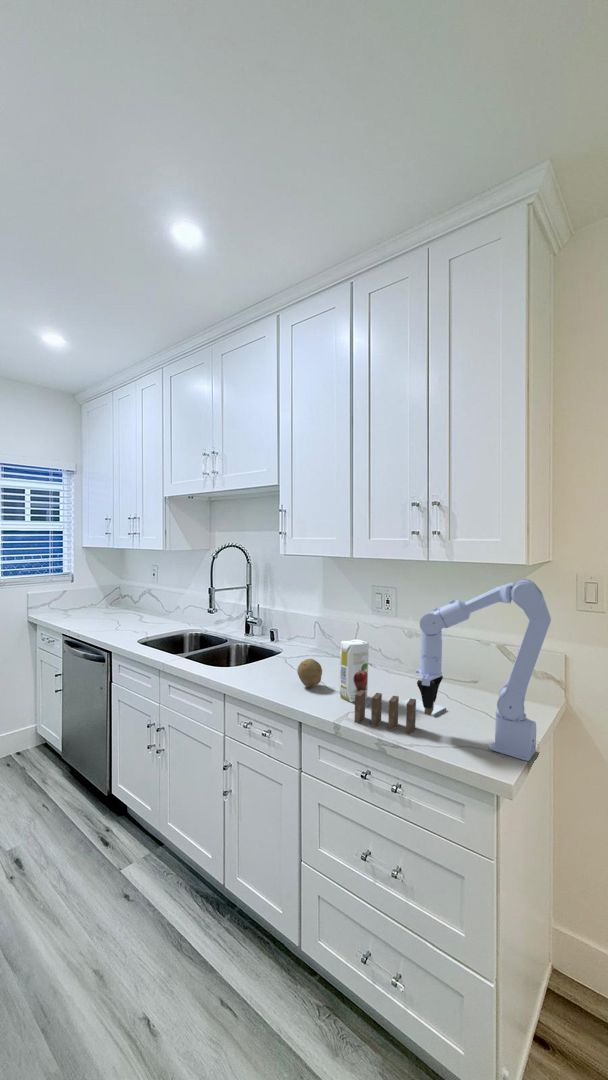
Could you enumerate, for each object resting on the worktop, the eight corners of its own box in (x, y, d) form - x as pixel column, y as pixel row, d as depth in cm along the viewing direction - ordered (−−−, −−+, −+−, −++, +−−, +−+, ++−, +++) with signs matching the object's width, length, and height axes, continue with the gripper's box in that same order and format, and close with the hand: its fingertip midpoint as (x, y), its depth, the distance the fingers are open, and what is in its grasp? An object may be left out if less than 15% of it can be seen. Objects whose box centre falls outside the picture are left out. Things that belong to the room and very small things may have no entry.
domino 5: (433, 709, 132) (434, 681, 132) (430, 715, 127) (431, 686, 127) (427, 708, 132) (428, 680, 132) (424, 714, 128) (425, 685, 128)
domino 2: (381, 720, 138) (381, 693, 138) (376, 726, 133) (377, 698, 133) (375, 719, 139) (376, 692, 138) (371, 725, 134) (371, 697, 134)
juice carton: (336, 696, 157) (337, 640, 157) (356, 692, 162) (357, 638, 162) (350, 703, 151) (351, 645, 151) (370, 699, 156) (372, 642, 155)
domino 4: (415, 727, 134) (416, 699, 134) (411, 733, 129) (412, 704, 129) (409, 726, 134) (410, 698, 134) (405, 732, 130) (406, 703, 130)
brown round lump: (301, 681, 173) (302, 654, 173) (324, 684, 170) (325, 657, 170) (294, 689, 164) (294, 660, 164) (318, 692, 162) (319, 663, 161)
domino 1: (364, 717, 140) (365, 690, 140) (359, 723, 135) (360, 695, 135) (359, 716, 141) (360, 689, 141) (354, 722, 136) (355, 694, 136)
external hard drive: (433, 719, 142) (398, 707, 150) (446, 712, 148) (411, 701, 156) (433, 713, 142) (398, 702, 150) (446, 707, 148) (411, 696, 156)
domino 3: (397, 723, 136) (398, 696, 136) (393, 730, 131) (394, 701, 131) (392, 722, 136) (393, 695, 136) (388, 729, 132) (388, 700, 132)
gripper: (421, 648, 138) (419, 694, 138) (411, 659, 125) (409, 710, 125) (446, 651, 135) (444, 698, 135) (438, 663, 122) (436, 715, 122)
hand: (429, 704), depth 130 cm, fingers closed on domino 5, 5 cm apart
